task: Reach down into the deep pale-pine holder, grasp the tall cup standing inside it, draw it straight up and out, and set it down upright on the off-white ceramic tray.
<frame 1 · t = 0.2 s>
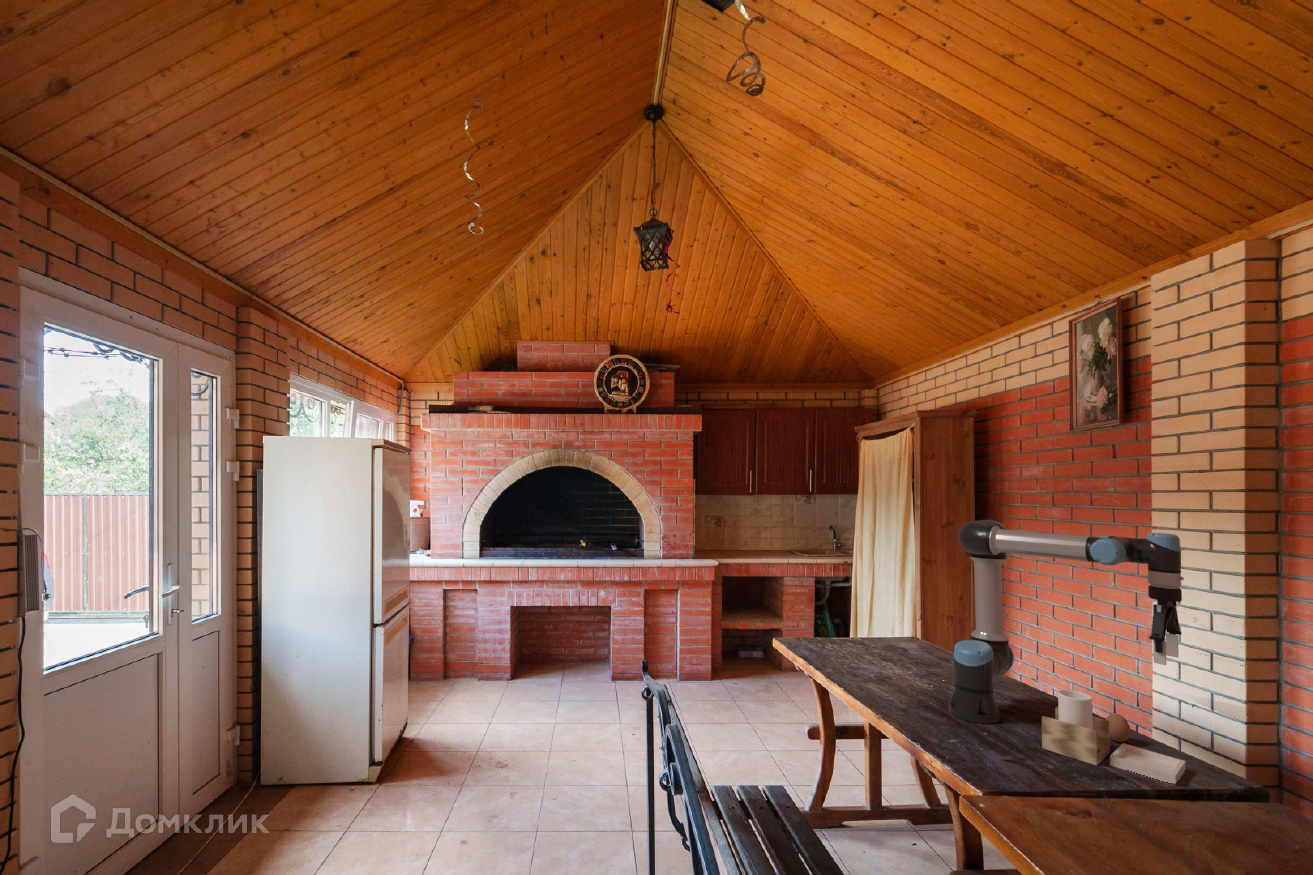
hand: (1166, 660, 175), 28 cm above the table, fingers open, 13 cm apart
tray: (1147, 767, 166), on the table
holder: (1075, 750, 176), on the table
egg: (1117, 741, 184), on the table
cup: (1075, 750, 176), resting in holder
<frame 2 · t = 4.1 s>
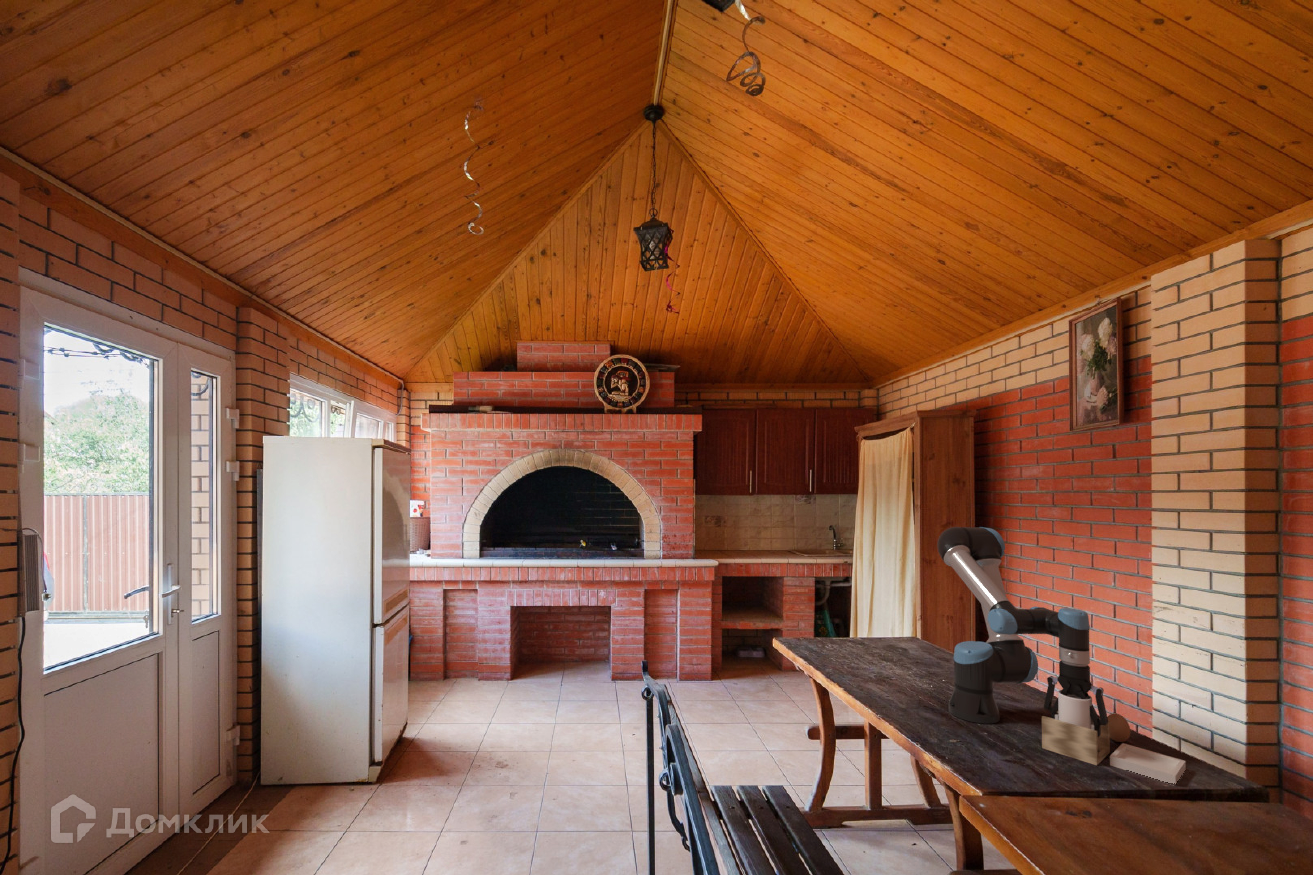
hand: (1075, 741, 176), 3 cm above the table, fingers closed on cup, 8 cm apart
cup: (1075, 750, 176), resting in holder, touching gripper
everything else where it was.
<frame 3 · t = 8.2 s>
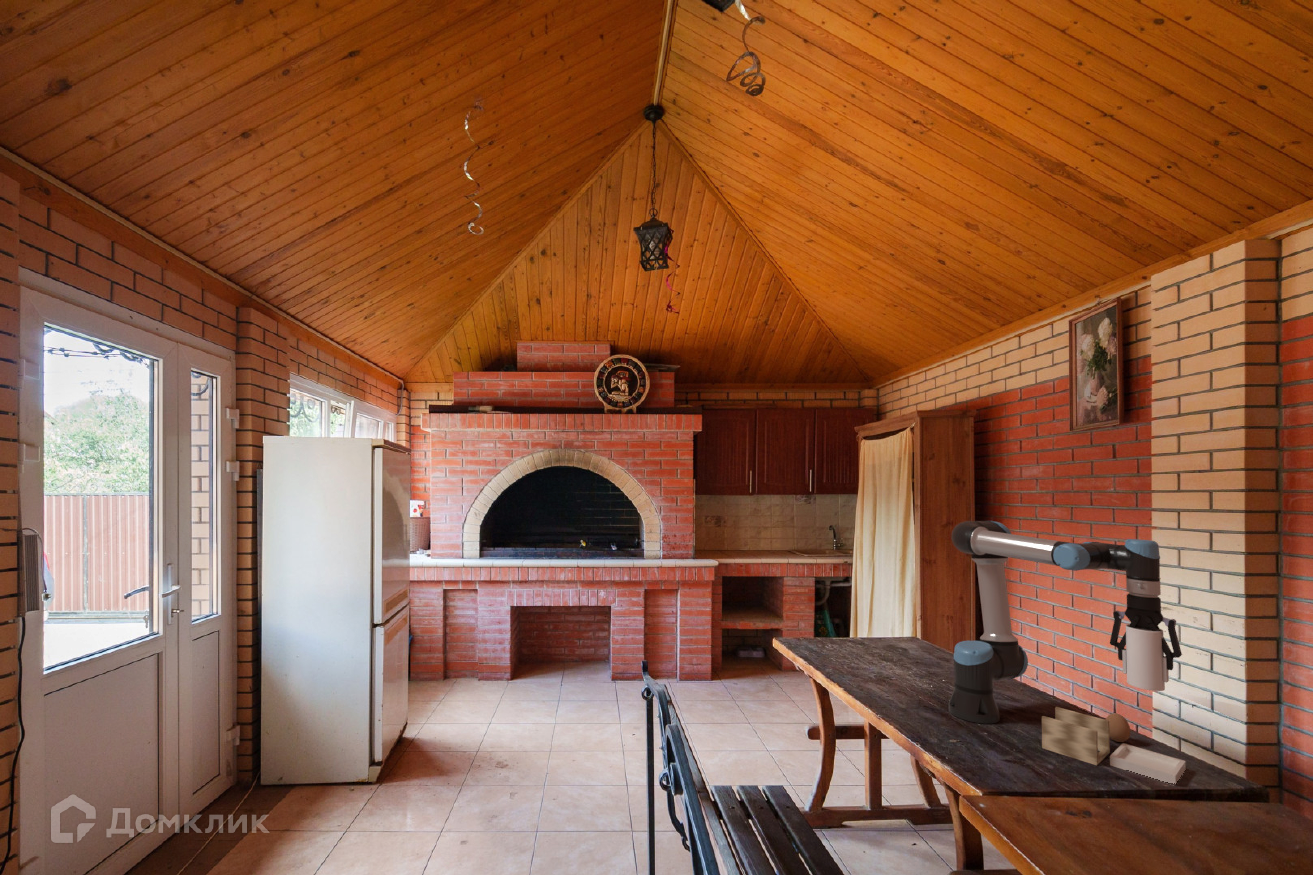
hand: (1145, 676, 168), 25 cm above the table, fingers closed on cup, 8 cm apart
cup: (1145, 686, 168), point 22 cm above the table, touching gripper
everything else where it was.
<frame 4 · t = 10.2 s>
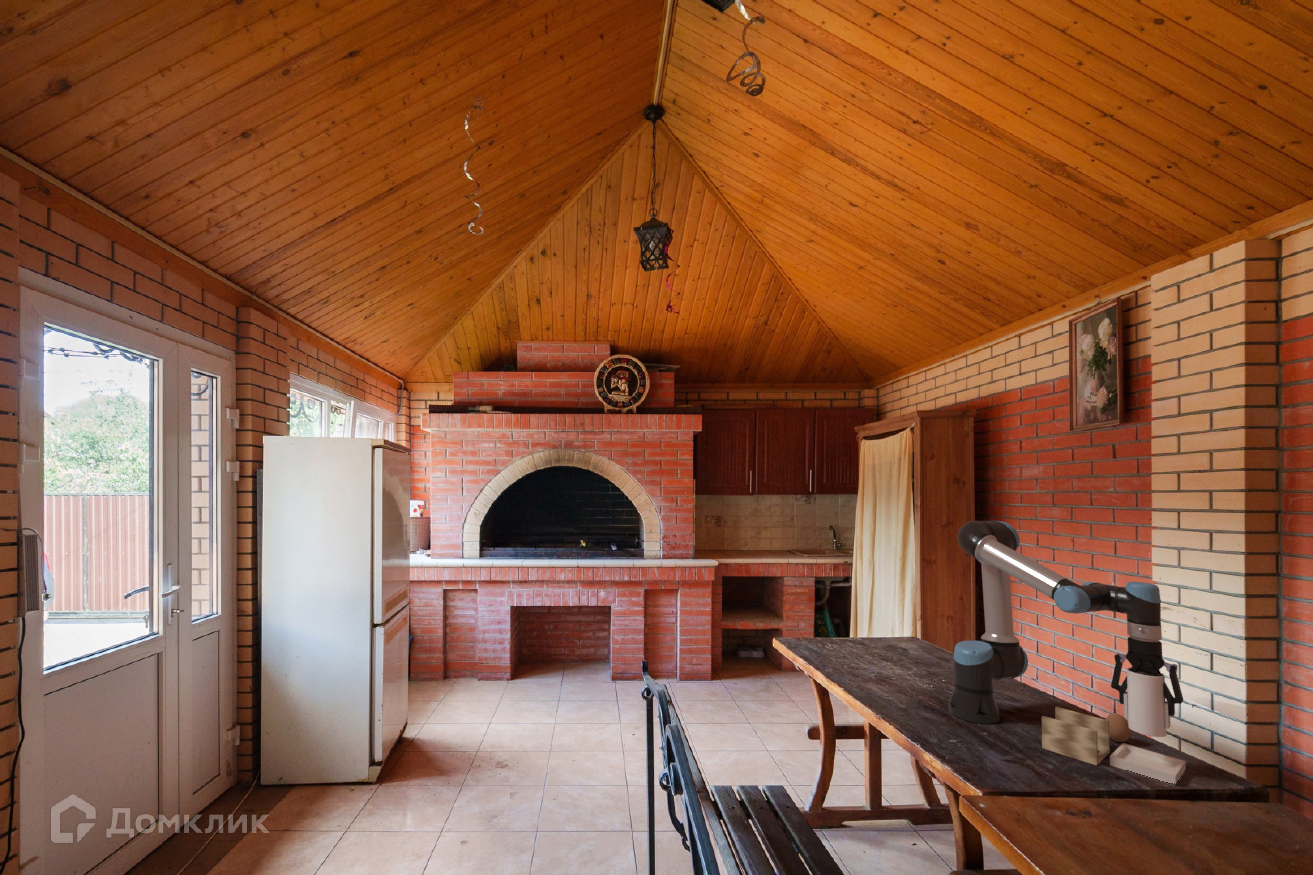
hand: (1146, 721, 167), 13 cm above the table, fingers closed on cup, 8 cm apart
cup: (1147, 731, 167), point 10 cm above the table, touching gripper
everything else where it was.
when the fingers open (5 cm above the table, at t = 12.2 s): cup drops 1 cm, resting on tray.
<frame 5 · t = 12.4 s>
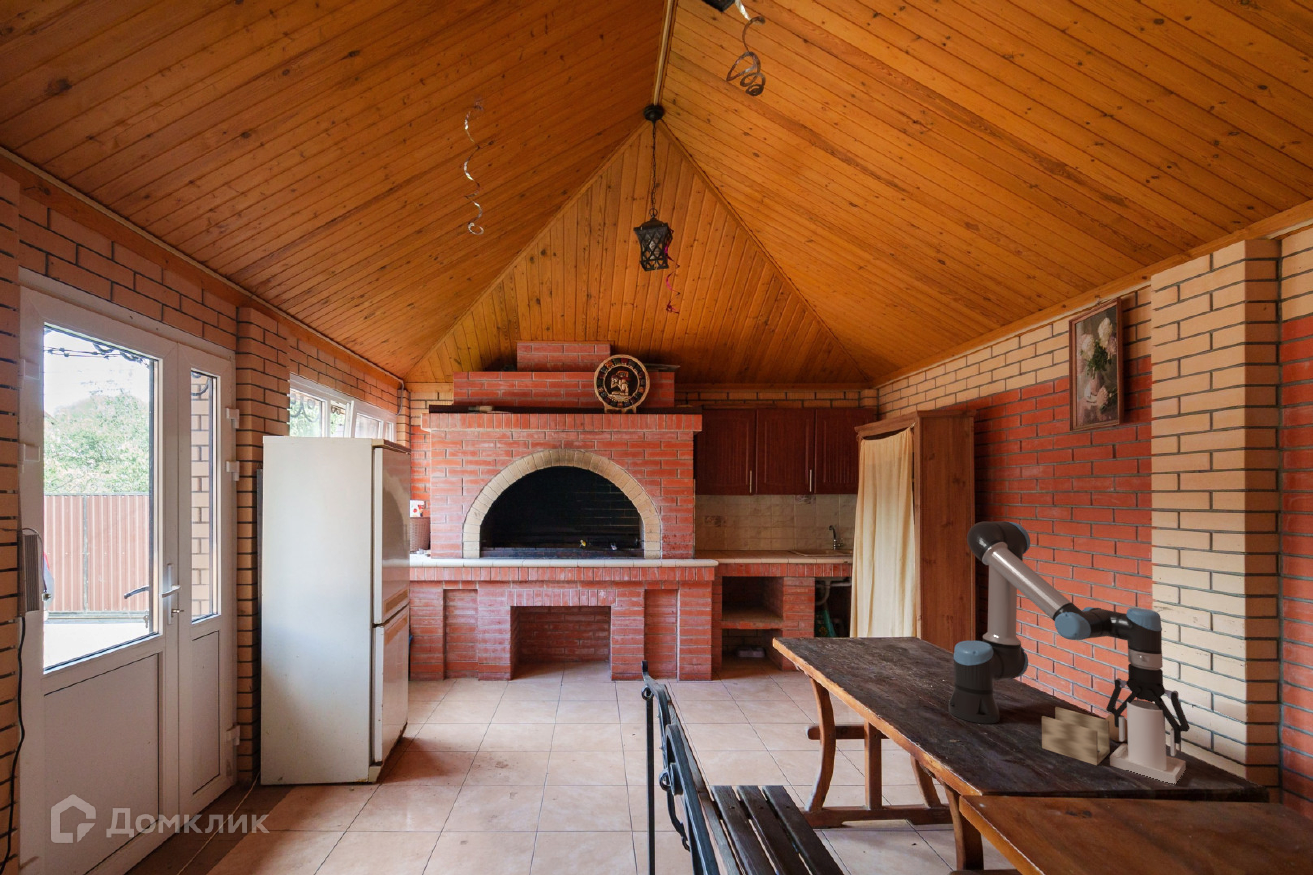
hand: (1147, 747, 167), 6 cm above the table, fingers open, 10 cm apart
cup: (1147, 764, 166), point 1 cm above the table, touching tray
everything else where it was.
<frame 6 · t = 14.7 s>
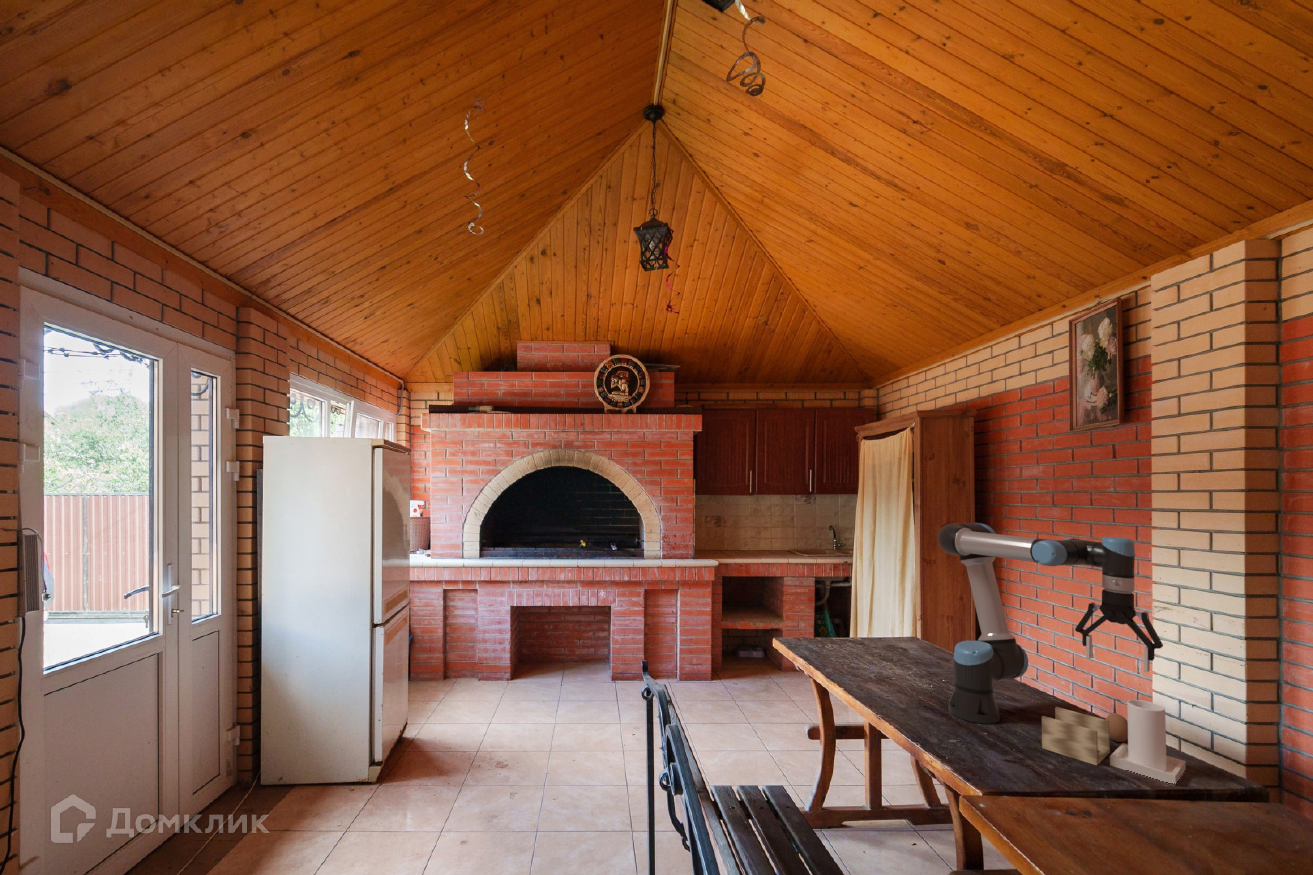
hand: (1117, 664, 174), 26 cm above the table, fingers open, 13 cm apart
nothing on the table moved.
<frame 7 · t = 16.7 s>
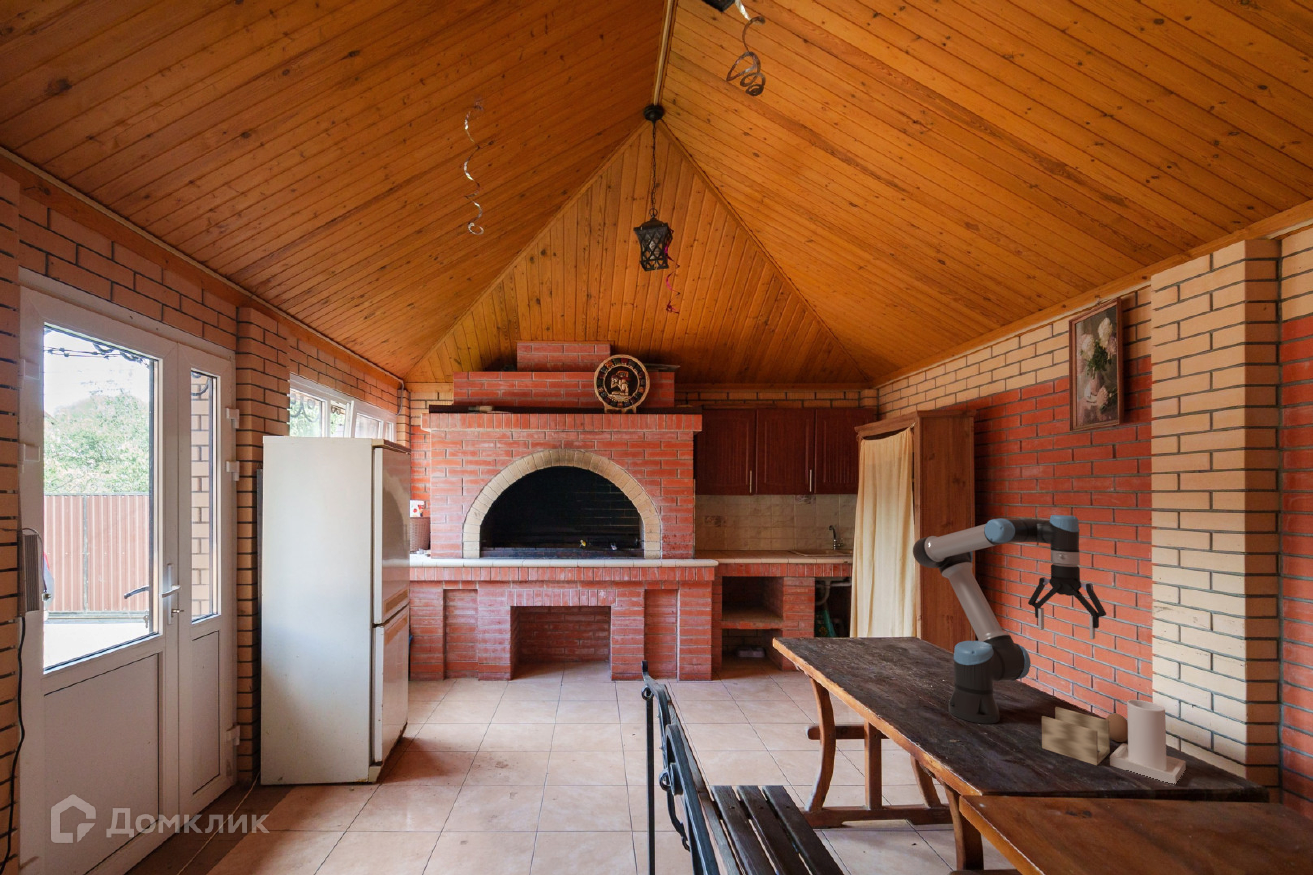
hand: (1066, 633, 186), 32 cm above the table, fingers open, 13 cm apart
nothing on the table moved.
at the end: cup inside the target area on the tray (0.1 cm from its centre), point 0.8 cm above the tray's base; cup tilted 0°; the gripper is holding nothing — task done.
